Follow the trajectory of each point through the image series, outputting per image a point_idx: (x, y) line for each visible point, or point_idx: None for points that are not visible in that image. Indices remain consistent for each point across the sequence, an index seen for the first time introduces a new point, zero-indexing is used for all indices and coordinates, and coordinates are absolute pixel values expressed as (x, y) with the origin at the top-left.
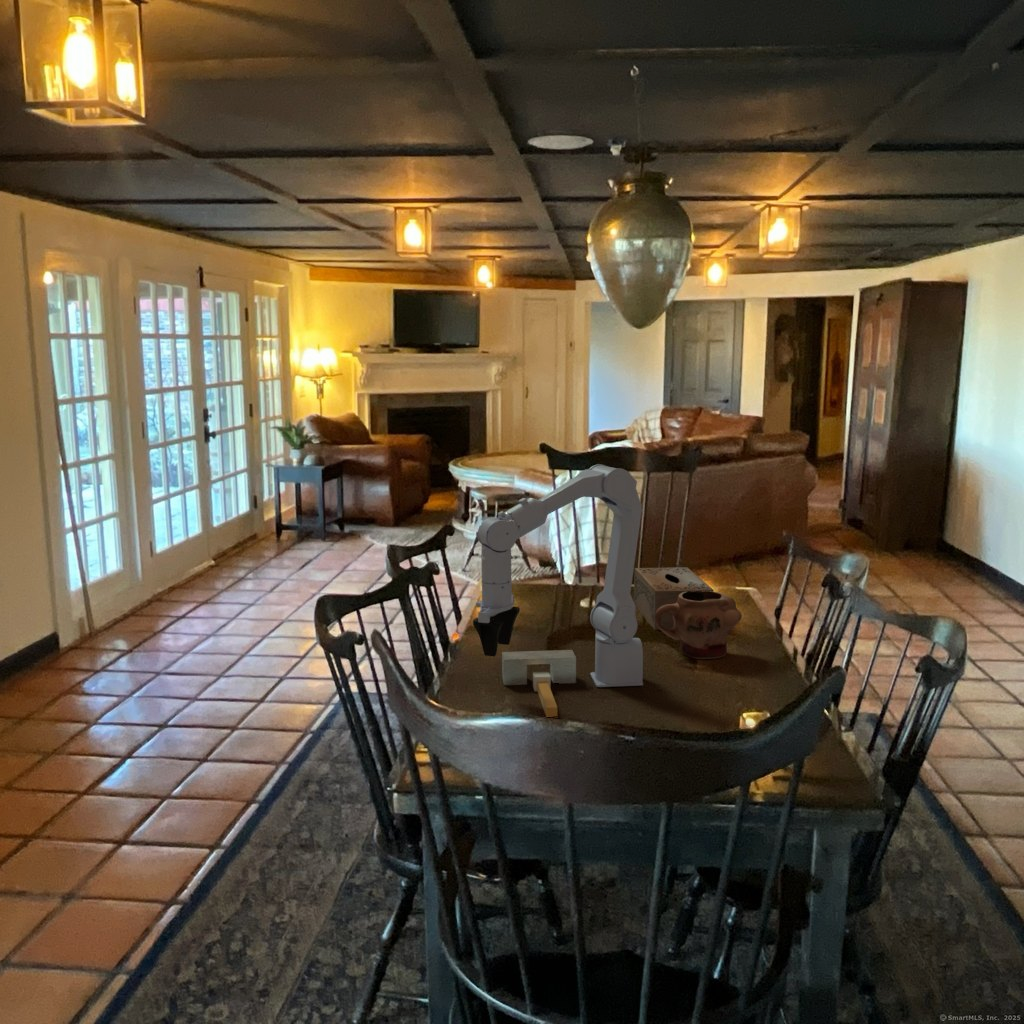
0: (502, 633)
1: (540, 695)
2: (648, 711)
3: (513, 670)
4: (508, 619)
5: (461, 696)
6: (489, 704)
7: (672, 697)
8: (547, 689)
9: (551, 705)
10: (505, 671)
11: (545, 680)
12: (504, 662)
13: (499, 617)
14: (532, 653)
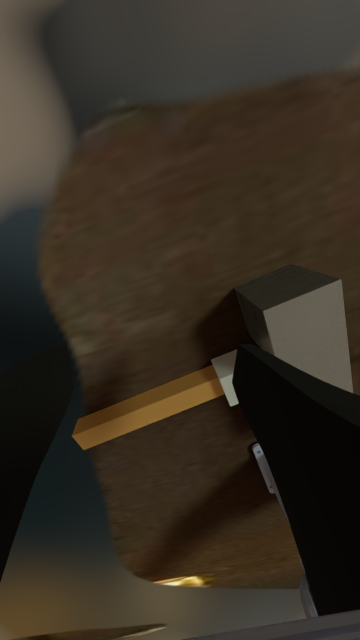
0: (259, 392)
1: (166, 389)
2: (167, 516)
3: (254, 322)
4: (299, 503)
5: (125, 203)
6: (99, 297)
7: (230, 522)
8: (176, 407)
9: (87, 439)
10: (248, 302)
11: (224, 392)
12: (259, 308)
13: (326, 462)
14: (328, 366)
